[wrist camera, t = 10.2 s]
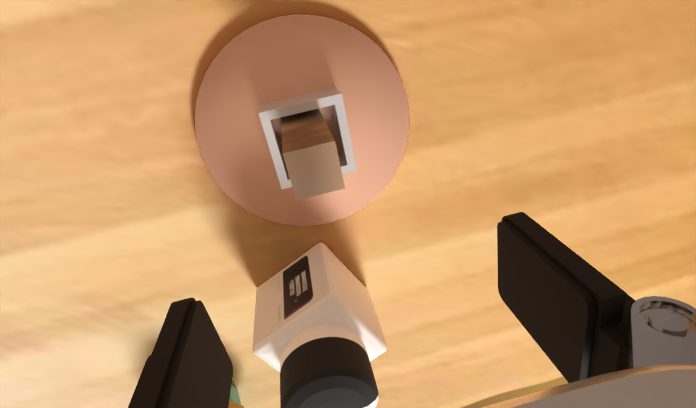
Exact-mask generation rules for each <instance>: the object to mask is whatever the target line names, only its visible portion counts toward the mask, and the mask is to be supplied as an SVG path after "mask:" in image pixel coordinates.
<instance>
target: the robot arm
mask: <svg viewBox="0 0 696 408" xmlns="http://www.w3.org/2000/svg"><path fill="white" fill-rule="evenodd" d="M497 237H498V290H499V294H500V296H501V298H502V300H503V301H504V302H505V304H506V305H507V306H508V307H509V309H510V310H511V311H512V312H513V314H514V315H515V316H516V317H517V319H518V320H519V321H520V322H521V324H522V325H523V326H524V327H525V329H526V330H527V331H528V332H529V334H530V335H531V336H532V337H533V339H534V340H535V341H536V342H537V344H538V345H539V346H540V347H541V349H542V350H543V351H544V352H545V354H546V355H547V356H548V357H549V359H550V360H551V361H552V362H553V364H554V365H555V366H556V367H557V369H558V370H559V371H560V372H561V374H562V375H563V376H564V377H565V379H566V380H567V381H568V382H569V383H568V384H564V385H560V386H556V387H553V388H549V389H545V390H542V391H538V392H535V393H531V394H528V395H525V396H521V397H517V398H514V399H510V400H506V401H503V402H500V403H496V404H492V405H489V406H485V407H482V408H696V309H695V308H694V307H692V306H690V305H688V304H686V303H683V302H681V301H679V300H675V299H671V298H667V297H658V296H651V297H644V298H641V299H638V300H636V301H635V300H634V299H633V298H631V297H630V296H629V295H627V293H626V292H624V291H623V290H622V289H620V288H619V287H618V286H617V285H615V284H614V283H613V282H612V281H610V280H609V279H608V278H606V277H605V276H604V275H603V274H601V273H600V272H599V271H598V270H596V269H595V268H594V267H592V266H591V265H590V264H589V263H587V262H586V261H585V260H584V259H582V258H581V257H580V256H578V255H577V254H576V253H575V252H573V251H572V250H571V249H570V248H568V247H567V246H566V245H564V244H563V243H562V242H561V241H559V240H558V239H557V238H555V237H554V236H553V235H552V234H550V233H549V232H548V231H547V230H545V229H544V228H543V227H541V226H540V225H539V224H538V223H536V222H535V221H534V220H533V219H531V218H530V217H529V216H527V215H526V214H525V213H523V212H519V213H515V214H511V215H508V216H504V217H503V218H502V222H499V223H498V226H497ZM232 376H233V367H232V362H231V360H230V358H229V356H228V354H227V352H226V350H225V348H224V346H223V344H222V341H221V339H220V337H219V335H218V333H217V331H216V329H215V327H214V325H213V323H212V321H211V319H210V317H209V315H208V313H207V311H206V309H205V307H204V305H203V303H202V302H201V301H196V300H195V299H194V298H188V299H184V300H180V301H176V302H173V303H172V304H171V306H170V308H169V311H168V313H167V316H166V318H165V321H164V324H163V326H162V329H161V332H160V334H159V337H158V339H157V342H156V345H155V347H154V350H153V352H152V355H150V356H149V357H148V359H147V361H146V363H145V366H144V368H143V371H142V373H141V376H140V379H139V381H138V384H137V386H136V389H135V391H134V394H133V396H132V399H131V402H130V404H129V407H128V408H228V406H229V399H230V391H231V383H232Z"/></svg>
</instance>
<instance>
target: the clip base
mask: <svg viewBox="0 0 696 408" xmlns="http://www.w3.org/2000/svg"><path fill="white" fill-rule="evenodd" d="M318 108H319V110H320V112H321V114H322V116H323V118H324V120H325V122H326V124H327V126H328V128H329V130H330V132H331V134H332V136H333V138H334V140H335V143H336V148H337V153H338V157H339V162H340V167H341V171H342V176H343V180H344V185H345V189H341V190H337V191H333V192H329V193H325V194H321V195H317V196H313V197H309V198H305V199H301V200H297V201H296V198H295V195H294V191H293V188H292V184H291V181H290V177H289V174H288V170H287V167H286V164H285V160H284V157H283V151H282V133H281V117H285V116H289V115H293V114H297V113H301V112H306V111H310V110H314V109H318ZM409 123H410V119H409V106H408V101H407V95H406V92H405V89H404V86H403V83H402V80H401V78H400V76H399V74H398V72H397V70H396V68H395V67H394V65H393V64H392V62H391V61H390V59H389V58H388V56H387V55H386V54H385V53H384V52H383V51H382V49H381V48H380V47H379V46H378V45H377V44H376V43H375V42H373V41H372V40H371V39H370V38H369V37H368V36H366V35H365V34H363V33H362V32H360V31H359V30H357V29H356V28H354V27H352V26H350V25H347V24H345V23H343V22H341V21H338V20H335V19H331V18H328V17H324V16H317V15H311V14H293V15H286V16H279V17H275V18H272V19H268V20H265V21H262V22H260V23H258V24H256V25H254V26H251V27H249V28H248V29H246V30H245V31H243V32H242V33H240V34H239V35H237V36H236V37H234V38H233V39H232V40H231V41H230V42H229V43H228V44H227V45H225V46H224V47H223V49H222V50H221V51H220V52H219V53H218V55H217V56H216V57H215V58H214V60H213V61H212V63H211V65H210V66H209V68H208V70H207V71H206V73H205V76H204V78H203V80H202V83H201V85H200V88H199V92H198V96H197V100H196V108H195V132H196V138H197V143H198V147H199V150H200V153H201V156H202V159H203V161H204V163H205V165H206V168H207V170H208V172H209V173H210V175H211V176H212V178H213V179H214V181H215V182H216V184H217V185H218V186H219V187H220V188H221V189H222V191H223V192H224V193H225V194H226V195H227V196H228V197H229V198H231V199H232V200H233V201H234V202H235V203H237V204H238V205H239V206H241V207H242V208H243V209H245V210H247V211H249V212H250V213H252V214H254V215H256V216H258V217H261V218H263V219H266V220H268V221H272V222H276V223H279V224H285V225H292V226H313V225H321V224H326V223H331V222H334V221H337V220H340V219H343V218H345V217H347V216H349V215H351V214H354V213H355V212H357V211H359V210H360V209H362V208H364V207H365V206H366V205H367V204H369V203H370V202H371V201H373V200H374V199H375V198H376V197H377V196H378V195H379V194H380V193H381V192H382V191H383V190H384V188H385V187H386V186H387V185H388V184H389V182H390V181H391V179H392V178H393V176H394V175H395V173H396V171H397V169H398V167H399V165H400V163H401V161H402V158H403V155H404V152H405V149H406V146H407V141H408V136H409Z"/></svg>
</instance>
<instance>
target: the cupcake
mask: <svg viewBox="0 0 696 408" xmlns="http://www.w3.org/2000/svg"><path fill="white" fill-rule="evenodd" d="M228 408H244V407H243V406H242V405H241V402H240V399H239V394H238V391H237V389H236V388H235V387H234V386H233V385H232V384H231V391H230V399H229V406H228Z"/></svg>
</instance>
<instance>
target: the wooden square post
mask: <svg viewBox="0 0 696 408" xmlns="http://www.w3.org/2000/svg"><path fill="white" fill-rule="evenodd" d="M281 133H282V151H283V157H284V160H285V164H286V167H287V170H288V174H289V177H290V181H291V184H292V188H293V191H294V195H295V198H296V201H297V200H301V199H305V198H309V197H313V196H317V195H321V194H325V193H329V192H333V191H337V190H341V189H345V185H344V180H343V176H342V171H341V167H340V162H339V157H338V153H337V148H336V143H335V140H334V138H333V136H332V134H331V132H330V130H329V128H328V126H327V124H326V122H325V120H324V118H323V116H322V114H321V112H320V110H319V108H318V109H314V110H310V111H306V112H301V113H297V114H293V115H289V116H285V117H281Z"/></svg>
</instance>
